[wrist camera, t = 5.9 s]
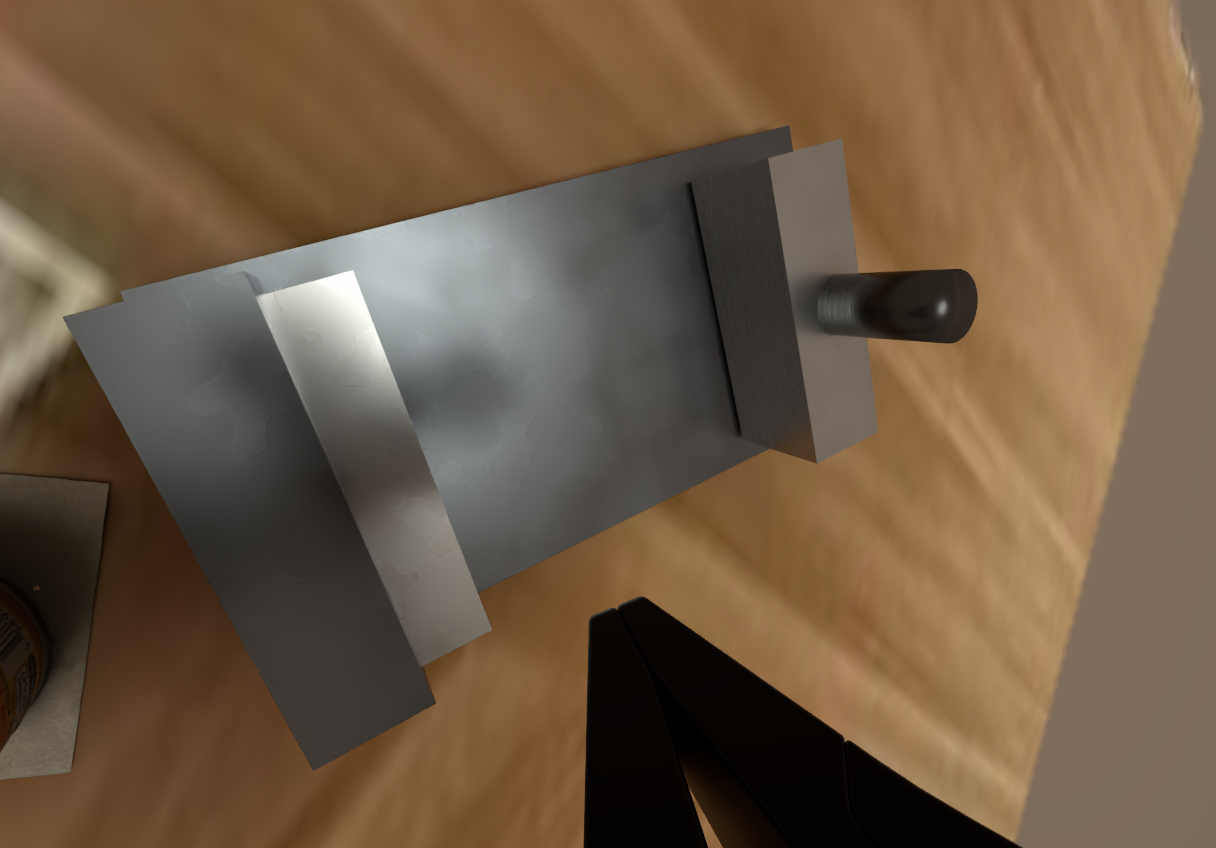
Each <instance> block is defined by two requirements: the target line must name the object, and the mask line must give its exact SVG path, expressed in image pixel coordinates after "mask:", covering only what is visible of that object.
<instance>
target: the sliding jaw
mask: <svg viewBox="0 0 1216 848" xmlns="http://www.w3.org/2000/svg"><path fill="white" fill-rule="evenodd" d="M691 184H692V189H693V194H694V199H695V204H696V209H697V214H698V219H699V224H700V229H701V234H702V239H703V244H704V249H705V254H706V259H707V264H708V269H709V273H710V278H711V283H712V288H713V293H714V298H715V303H716V308H717V313H718V318H719V323H720V328H721V333H722V338H723V343H724V348H725V353H726V358H727V363H728V368H729V373H730V378H731V383H732V388H733V393H734V398H735V403H736V408H737V413H738V418H739V422H740V427H741V432H742V437H743V440H745V441H748V442H751V443H754V444H757V445H761V446H764V447H767V448H770V449H773V450H776V451H779V452H782V453H786V454H789V455H792V456H795V457H798V458H801V459H804V460H807V461H811V462H814V463H819V462H821V461H823V460H825V459H827V458H829V457H831V456H833V455H835V454H837V453H838V452H840V451H842V450H844V449H846V448H848V447H850V446H852V445H854V444H856V443H857V442H859V441H861V440H863V439H865V438H867V437H869V436H871V435H873V434H875V433H876V432H878V427H877V419H876V411H875V402H874V394H873V386H872V378H871V370H870V362H869V354H868V346H867V338H878V339H892V340H906V341H920V342H935V343H955V342H957V341H959V340H960V339H961V338H963V337H964V336H965V335H966V333H967V332H968V331H969V329H970V327H971V325H972V323H973V321H974V318H975V315H976V310H977V301H978V299H977V289H976V285H975V283H974V280H973V279H972V277H971V276H970V274H969V273H967V272H966V271H964V270H962V269H944V270H921V271H898V272H874V273H858V264H857V256H856V248H855V240H854V232H853V224H852V216H851V208H850V200H849V191H848V183H847V175H846V167H845V159H844V151H843V143H842V139H838V140H834V141H831V142H827V143H823V144H819V145H816V146H812V147H808V148H805V149H801V150H797V151H793V152H790V153H786V154H782V155H779V156H775V157H771V158H768V159H764V160H761V161H757V162H754V163H751V164H747V165H744V166H740V167H737V168H734V169H730V170H727V171H723V172H720V173H717V174H713V175H710V176H706V177H703V178H700V179H696V180H693V181H691Z"/></svg>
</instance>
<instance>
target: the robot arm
mask: <svg viewBox="0 0 1216 848" xmlns="http://www.w3.org/2000/svg"><path fill="white" fill-rule="evenodd" d="M688 786H689V787H688ZM689 788H690V790H691V791H692V793H693V795H694V797H695V798H696V800H697V802H698V804H699V806H700V807H701V809H702V811H703V813H704V814H705V816H706V818H707V820H708V822H709V823H710V825H711V827H712V829H713V830H714V832H715V834H716V836H717V838H718V839H719V841H720V843H721V845H722V847H723V848H1022V847H1021V846H1019V845H1017V844H1015V843H1014V842H1012V841H1010V840H1008V839H1007V838H1005V837H1003V836H1001V835H1000V834H998V833H996V832H994V831H993V830H991V829H989V828H987V827H985V826H984V825H982V824H980V823H978V822H977V821H975V820H973V819H971V818H970V817H968V816H966V815H965V814H963V813H961V812H960V811H958V810H956V809H954V808H953V807H951V806H949V805H948V804H946V803H944V802H943V801H941V800H939V799H938V798H936V797H934V796H933V795H931V794H929V793H928V792H926V791H924V790H923V789H921V788H919V787H918V786H916V785H915V784H913V783H912V782H910V781H909V780H907V779H906V778H904V777H903V776H901V775H900V774H898V773H897V772H895V771H894V770H892V769H891V768H889V767H888V766H886V765H885V764H883V763H881V762H880V761H878V760H877V759H876V758H874V757H873V756H871V755H870V754H868V753H867V752H866V751H864V750H863V749H861V748H860V747H859V746H857V745H856V744H854V743H853V742H851V741H849V740H847V741H846V742H845V740H844V737H843V736H842V735H841V734H840V733H838V732H837V731H835V730H834V729H832V728H831V727H830V726H828V725H827V724H825V723H824V722H822V721H821V720H820V719H818V718H817V717H815V716H814V715H812V714H811V713H810V712H808V711H807V710H805V709H804V708H802V707H801V706H800V705H798V704H797V703H795V702H794V701H792V700H791V699H790V698H788V697H787V696H785V695H784V694H782V693H781V692H780V691H778V690H777V689H775V688H774V687H773V686H771V685H770V684H768V683H767V682H765V681H764V680H763V679H761V678H760V677H758V676H757V675H755V674H754V673H753V672H751V671H750V670H748V669H747V668H745V667H744V666H743V665H741V664H740V663H738V662H737V661H735V660H734V659H733V658H731V657H730V656H728V655H727V654H725V653H724V652H723V651H721V650H720V649H718V648H717V647H715V646H714V645H713V644H711V643H710V642H708V641H707V640H705V639H704V638H703V637H701V636H700V635H698V634H697V633H695V632H694V631H693V630H691V629H690V628H688V627H687V626H685V625H684V624H683V623H681V622H680V621H678V620H677V619H675V618H674V617H673V616H671V615H670V614H668V613H667V612H665V611H664V610H663V609H661V608H660V607H658V606H657V605H655V604H654V603H653V602H651V601H650V600H648V599H647V598H645V597H637V598H635V599H632V600H630V601H627V602H625V603H622V604H620V605H619V607H618V609H617V610H616V609H615V608H610V609H608V610H605V611H603V612H600V613H598V614H595V615H593V616H592V617H591V618H590V620H589V639H588V682H587V725H586V768H585V811H584V848H708V846H707V843H706V840H705V837H704V833H703V830H702V827H701V824H700V821H699V818H698V815H697V812H696V809H695V806H694V803H693V799H692V796H691V793H690V790H689Z"/></svg>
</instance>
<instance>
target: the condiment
mask: <svg viewBox="0 0 1216 848" xmlns="http://www.w3.org/2000/svg"><path fill="white" fill-rule="evenodd" d="M108 489H109V484H106V483H97V482H86V481H70V480H67V479H60V478H45V477H35V476H23V475H11V474H0V780H3V779H9V778H21V777H33V776H43V775H53V774H60V773H69V772H71V766H72V759H73V752H74V745H75V738H76V731H77V725H78V718H79V711H80V699H81V694H82V689H83V682H84V675H85V669H86V657H87V653H88V644H89V634H90V629H91V618H92V607H93V598H94V594H95V588H96V581H97V574H98V567H99V560H100V555H101V545H102V535H103V523H104V516H105V510H106V503H107V496H108ZM36 585H39V587H40V590H35V591H34V590H33V587H34V586H36Z"/></svg>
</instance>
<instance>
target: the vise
mask: <svg viewBox="0 0 1216 848" xmlns="http://www.w3.org/2000/svg"><path fill="white" fill-rule="evenodd" d="M790 152H793V148H792V141H791V134H790V127H789V126H785V127H781V128H777V129H773V130H769V131H765V132H761V133H757V134H753V135H749V136H745V137H741V138H737V139H733V140H728V141H724V142H720V143H716V144H712V145H708V146H704V147H700V148H696V149H692V150H688V151H684V152H680V153H676V154H672V155H668V156H664V157H660V158H656V159H652V160H648V161H644V162H640V163H636V164H632V165H628V166H624V167H620V168H616V169H612V170H608V171H604V172H599V173H595V174H591V175H587V176H583V177H579V178H575V179H571V180H567V181H563V182H559V183H555V184H551V185H547V186H543V187H539V188H535V189H531V190H527V191H523V192H519V193H515V194H511V195H507V196H503V197H499V198H495V199H491V200H487V201H483V202H479V203H474V204H470V205H466V206H462V207H458V208H454V209H450V210H446V211H442V212H438V213H434V214H430V215H426V216H422V217H418V218H414V219H410V220H406V221H402V222H398V223H394V224H390V225H386V226H382V227H378V228H374V229H370V230H366V231H362V232H358V233H354V234H350V235H345V236H341V237H337V238H333V239H329V240H325V241H321V242H317V243H313V244H309V245H305V246H301V247H297V248H293V249H289V250H285V251H281V252H277V253H273V254H269V255H265V256H261V257H257V258H253V259H249V260H245V261H241V262H237V263H233V264H229V265H225V266H221V267H216V268H212V269H208V270H204V271H200V272H196V273H192V274H188V275H184V276H180V277H176V278H172V279H168V280H164V281H160V282H156V283H152V284H148V285H144V286H140V287H136V288H132V289H128V290H124V291H120V293H121V295H122V297H123V299H124V301H123V302H119V303H115V304H111V305H107V306H103V307H99V308H95V309H91V310H87V311H84V312H80V313H76V314H72V315H68V316H64V317H63V319H64V321H65V322H66V324H67V326H68V328H69V330H70V331H71V333H72V335H73V337H74V339H75V340H76V342H77V344H78V346H79V348H80V349H81V351H82V353H83V355H84V357H85V359H86V360H87V362H88V364H89V366H90V368H91V369H92V371H93V373H94V375H95V377H96V378H97V380H98V382H99V384H100V386H101V387H102V389H103V391H104V393H105V395H106V397H107V398H108V400H109V402H110V404H111V406H112V407H113V409H114V411H115V413H116V415H117V416H118V418H119V420H120V422H121V424H122V425H123V427H124V429H125V431H126V433H127V434H128V436H129V438H130V440H131V442H132V444H133V445H134V447H135V449H136V451H137V453H138V454H139V456H140V458H141V460H142V462H143V463H144V465H145V467H146V469H147V471H148V472H149V474H150V476H151V478H152V480H153V482H154V483H155V485H156V487H157V489H158V491H159V492H160V494H161V496H162V498H163V500H164V501H165V503H166V505H167V507H168V509H169V510H170V512H171V514H172V516H173V518H174V520H175V521H176V523H177V525H178V527H179V529H180V530H181V532H182V534H183V536H184V538H185V539H186V541H187V543H188V545H189V547H190V548H191V550H192V552H193V554H194V556H195V558H196V559H197V561H198V563H199V565H200V567H201V568H202V570H203V572H204V574H205V576H206V577H207V579H208V581H209V583H210V585H211V586H212V588H213V590H214V592H215V594H216V596H217V597H218V599H219V601H220V603H221V605H222V606H223V608H224V610H225V612H226V614H227V615H228V617H229V619H230V621H231V623H232V624H233V626H234V628H235V630H236V632H237V633H238V635H239V637H240V639H241V641H242V643H243V644H244V646H245V648H246V650H247V652H248V653H249V655H250V657H251V659H252V661H253V662H254V664H255V666H256V668H257V670H258V671H259V673H260V675H261V677H262V679H263V681H264V682H265V684H266V686H267V688H268V690H269V691H270V693H271V695H272V697H273V699H274V700H275V702H276V704H277V706H278V708H279V709H280V711H281V713H282V715H283V717H284V719H285V720H286V722H287V724H288V726H289V728H290V729H291V731H292V733H293V735H294V737H295V738H296V740H297V742H298V744H299V746H300V747H301V749H302V751H303V753H304V755H305V757H306V758H307V760H308V762H309V764H310V766H311V767H312V769H313V771H314V770H316V769H318V768H319V767H321V766H323V765H325V764H327V763H329V762H330V761H332V760H334V759H336V758H338V757H339V756H341V755H343V754H345V753H347V752H349V751H350V750H352V749H354V748H356V747H358V746H359V745H361V744H363V743H365V742H367V741H369V740H370V739H372V738H374V737H376V736H378V735H379V734H381V733H383V732H385V731H387V730H389V729H390V728H392V727H394V726H396V725H398V724H399V723H401V722H403V721H405V720H407V719H409V718H410V717H412V716H414V715H416V714H418V713H419V712H421V711H423V710H425V709H427V708H428V707H430V706H432V705H434V704H436V702H435V699H434V696H433V693H432V690H431V687H430V684H429V681H428V678H427V676H426V673H425V670H424V667H423V666H425V665H426V664H428V663H430V662H432V661H434V660H436V659H438V658H440V657H442V656H444V655H446V654H447V653H449V652H451V651H453V650H455V649H457V648H459V647H461V646H463V645H465V644H467V643H468V642H470V641H472V640H474V639H476V638H478V637H480V636H482V635H484V634H486V633H488V632H490V631H491V630H492V628H491V626H490V623H489V621H488V618H487V616H486V613H485V610H484V608H483V605H482V603H481V600H480V597H479V595H478V593H479V592H481V591H483V590H485V589H487V588H489V587H491V586H493V585H495V584H497V583H499V582H501V581H503V580H505V579H507V578H509V577H511V576H513V575H515V574H517V573H519V572H521V571H523V570H525V569H527V568H529V567H531V566H533V565H535V564H537V563H539V562H541V561H543V560H545V559H547V558H549V557H551V556H553V555H555V554H557V553H559V552H562V551H564V550H566V549H568V548H570V547H572V546H574V545H576V544H578V543H580V542H582V541H584V540H586V539H588V538H590V537H592V536H594V535H596V534H598V533H600V532H602V531H604V530H606V529H608V528H610V527H612V526H614V525H616V524H618V523H620V522H622V521H624V520H626V519H628V518H630V517H632V516H634V515H636V514H638V513H640V512H642V511H644V510H646V509H648V508H650V507H652V506H654V505H656V504H658V503H661V502H663V501H665V500H667V499H669V498H671V497H673V496H675V495H677V494H679V493H681V492H683V491H685V490H687V489H689V488H691V487H693V486H695V485H697V484H699V483H701V482H703V481H705V480H707V479H709V478H711V477H713V476H715V475H717V474H719V473H721V472H723V471H725V470H727V469H729V468H731V467H733V466H735V465H737V464H739V463H741V462H743V461H745V460H747V459H749V458H751V457H753V456H755V455H757V454H759V453H762V452H764V451H766V450H768V449H770V448H767V447H764V446H761V445H757V444H754V443H751V442H748V441H745V440H743V437H742V432H741V427H740V422H739V418H738V413H737V408H736V403H735V398H734V393H733V388H732V383H731V378H730V373H729V368H728V363H727V358H726V353H725V348H724V343H723V338H722V333H721V328H720V323H719V318H718V313H717V308H716V303H715V298H714V293H713V288H712V283H711V278H710V273H709V269H708V264H707V259H706V254H705V249H704V244H703V239H702V234H701V229H700V224H699V219H698V214H697V209H696V204H695V199H694V194H693V189H692V184H691V181H693V180H696V179H700V178H703V177H706V176H710V175H713V174H717V173H720V172H723V171H727V170H730V169H734V168H737V167H740V166H744V165H747V164H751V163H754V162H757V161H761V160H764V159H768V158H771V157H775V156H779V155H782V154H786V153H790Z"/></svg>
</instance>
